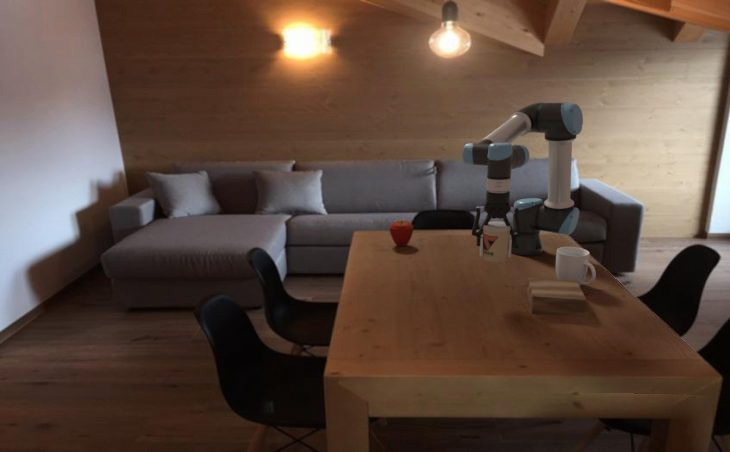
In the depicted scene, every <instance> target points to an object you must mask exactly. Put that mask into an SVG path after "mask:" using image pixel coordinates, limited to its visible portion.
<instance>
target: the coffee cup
mask: <svg viewBox="0 0 730 452" xmlns="http://www.w3.org/2000/svg"><path fill="white" fill-rule="evenodd" d="M510 229H511V228H510V226H506V224H505V222H504V221H502V220H501V221H500V220H490V221H489V223H488V225H487V226H486V225H484V227H483V233H482V236H483V248H482V257H483V259H484V260H485V261H487V262H492V263H500V262H505V261H506V260H508V259H507V258H508V245H509V237H510V236H511V235H510Z"/></svg>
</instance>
